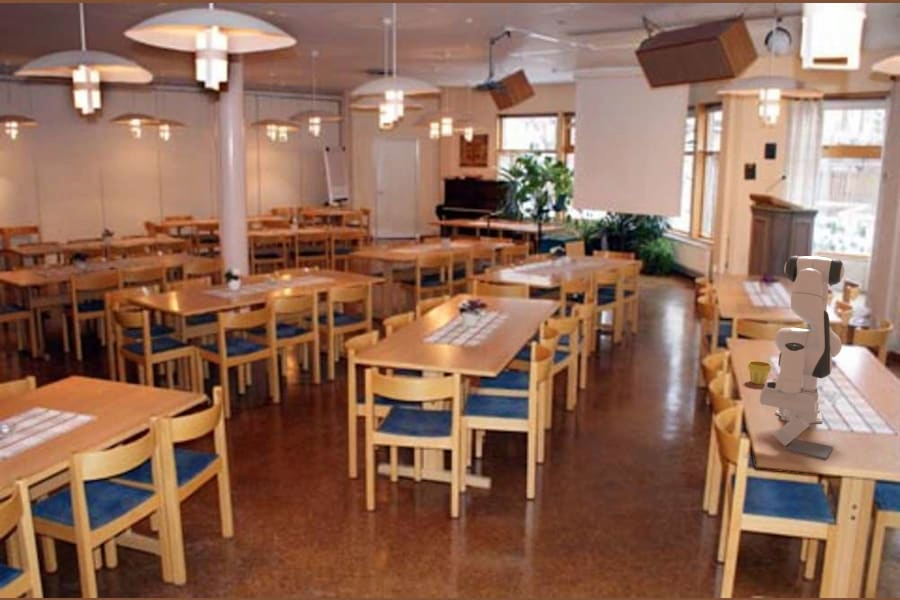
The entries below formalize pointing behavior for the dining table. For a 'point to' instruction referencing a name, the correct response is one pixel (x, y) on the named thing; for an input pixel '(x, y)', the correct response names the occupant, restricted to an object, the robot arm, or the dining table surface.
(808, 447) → the rubber mat
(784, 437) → the skincare box
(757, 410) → the dining table surface
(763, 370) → the plant pot
